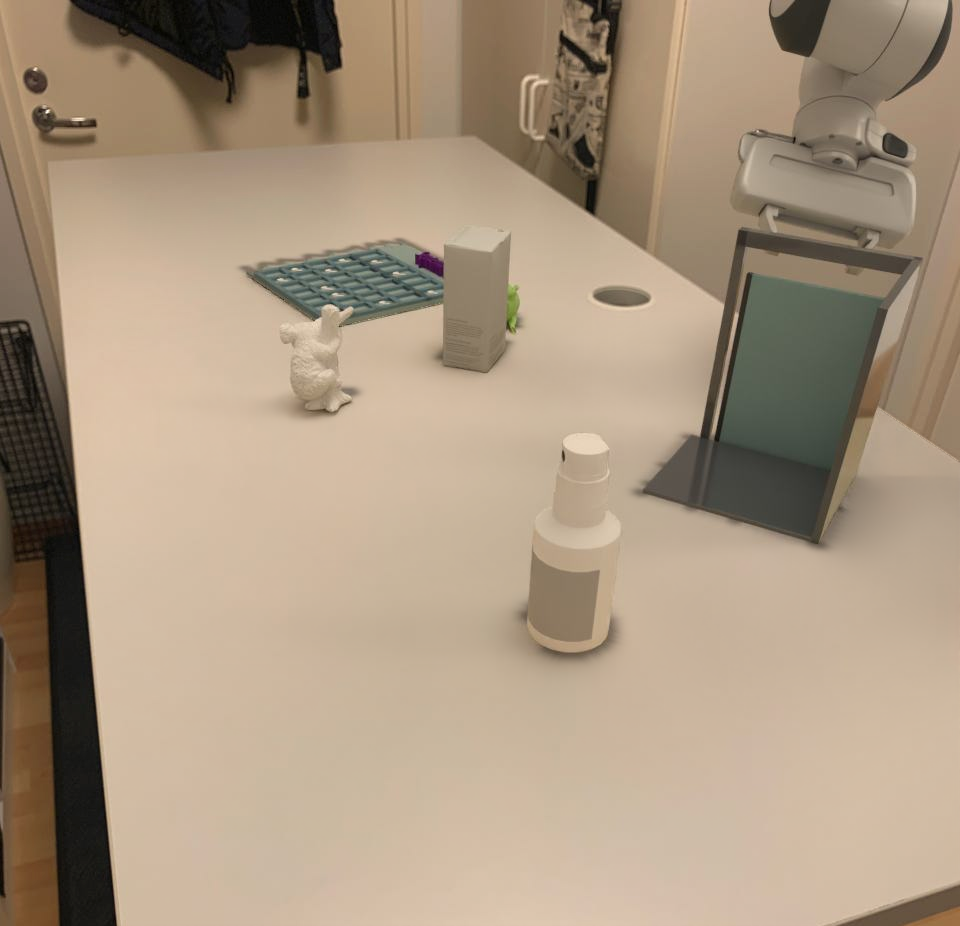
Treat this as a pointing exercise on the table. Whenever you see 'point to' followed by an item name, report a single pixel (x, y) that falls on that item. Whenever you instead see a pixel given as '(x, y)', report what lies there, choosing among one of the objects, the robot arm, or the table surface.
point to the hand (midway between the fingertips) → (813, 262)
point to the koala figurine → (317, 359)
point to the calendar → (359, 282)
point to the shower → (768, 479)
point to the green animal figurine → (512, 306)
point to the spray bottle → (575, 552)
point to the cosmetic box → (475, 297)
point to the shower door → (794, 368)
